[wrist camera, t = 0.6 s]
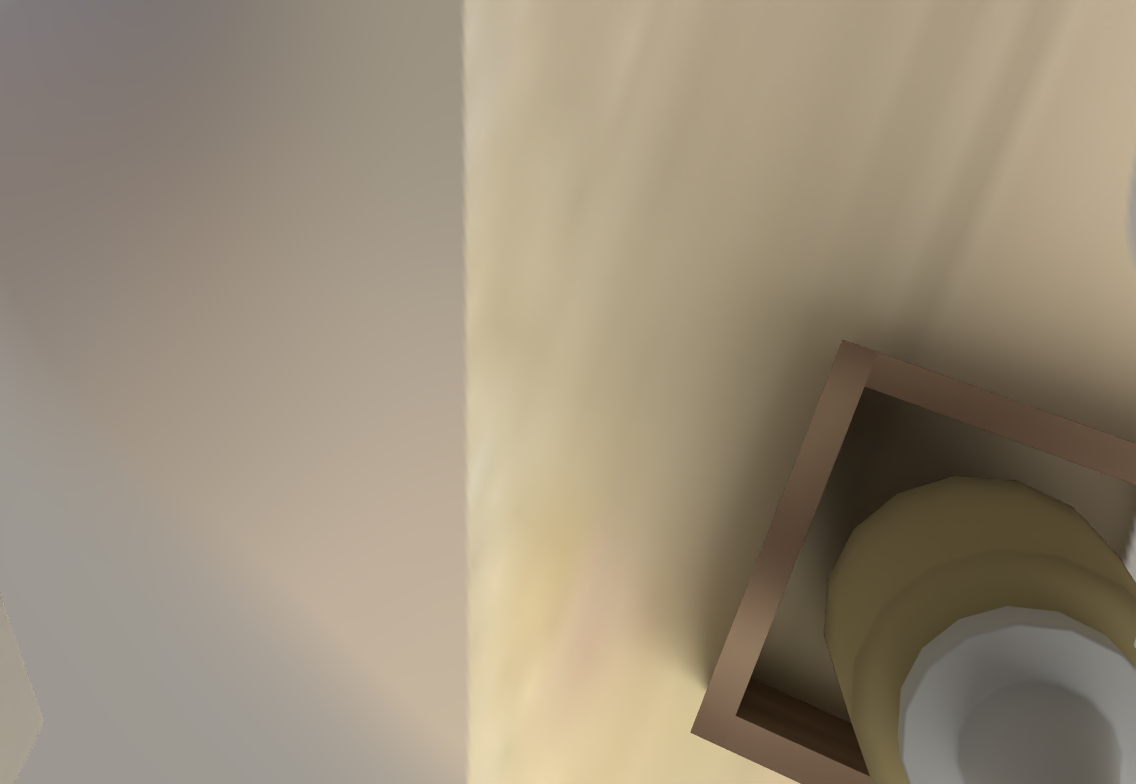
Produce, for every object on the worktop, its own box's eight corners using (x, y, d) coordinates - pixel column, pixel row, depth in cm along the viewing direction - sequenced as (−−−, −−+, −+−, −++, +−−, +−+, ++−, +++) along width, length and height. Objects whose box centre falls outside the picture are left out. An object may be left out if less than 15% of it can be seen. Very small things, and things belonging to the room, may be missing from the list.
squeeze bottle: (809, 480, 34) (757, 584, 17) (1087, 449, 32) (1354, 531, 15) (845, 737, 34) (829, 1109, 17) (1127, 722, 32) (1445, 1131, 15)
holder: (844, 344, 34) (843, 339, 30) (1251, 488, 31) (1306, 504, 27) (709, 693, 35) (690, 732, 31) (1087, 864, 32) (1118, 929, 28)
